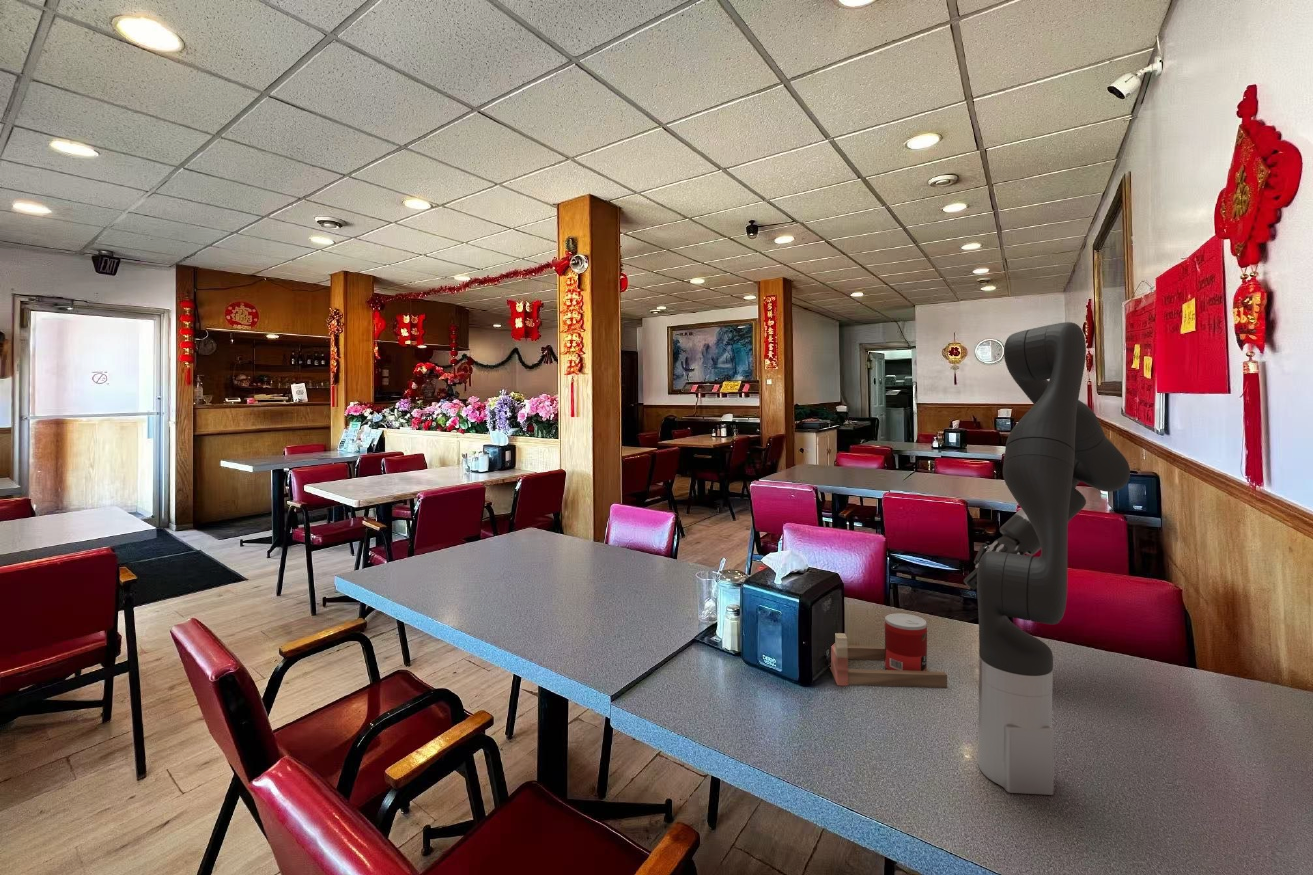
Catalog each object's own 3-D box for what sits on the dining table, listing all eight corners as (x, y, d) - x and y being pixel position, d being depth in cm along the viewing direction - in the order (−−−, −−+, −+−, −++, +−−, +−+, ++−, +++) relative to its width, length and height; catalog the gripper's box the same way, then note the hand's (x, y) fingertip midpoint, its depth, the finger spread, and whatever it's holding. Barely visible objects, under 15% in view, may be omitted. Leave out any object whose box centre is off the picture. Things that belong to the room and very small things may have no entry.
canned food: (931, 681, 112) (931, 627, 111) (889, 678, 113) (889, 625, 113) (921, 664, 119) (921, 613, 119) (881, 661, 121) (881, 611, 120)
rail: (948, 688, 109) (948, 641, 108) (837, 685, 111) (837, 638, 110) (921, 656, 123) (921, 614, 122) (824, 654, 125) (823, 612, 124)
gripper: (1002, 507, 119) (941, 563, 121) (1037, 520, 106) (968, 583, 108) (1028, 532, 118) (967, 587, 120) (1067, 547, 105) (997, 610, 107)
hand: (968, 585), depth 114 cm, fingers closed
